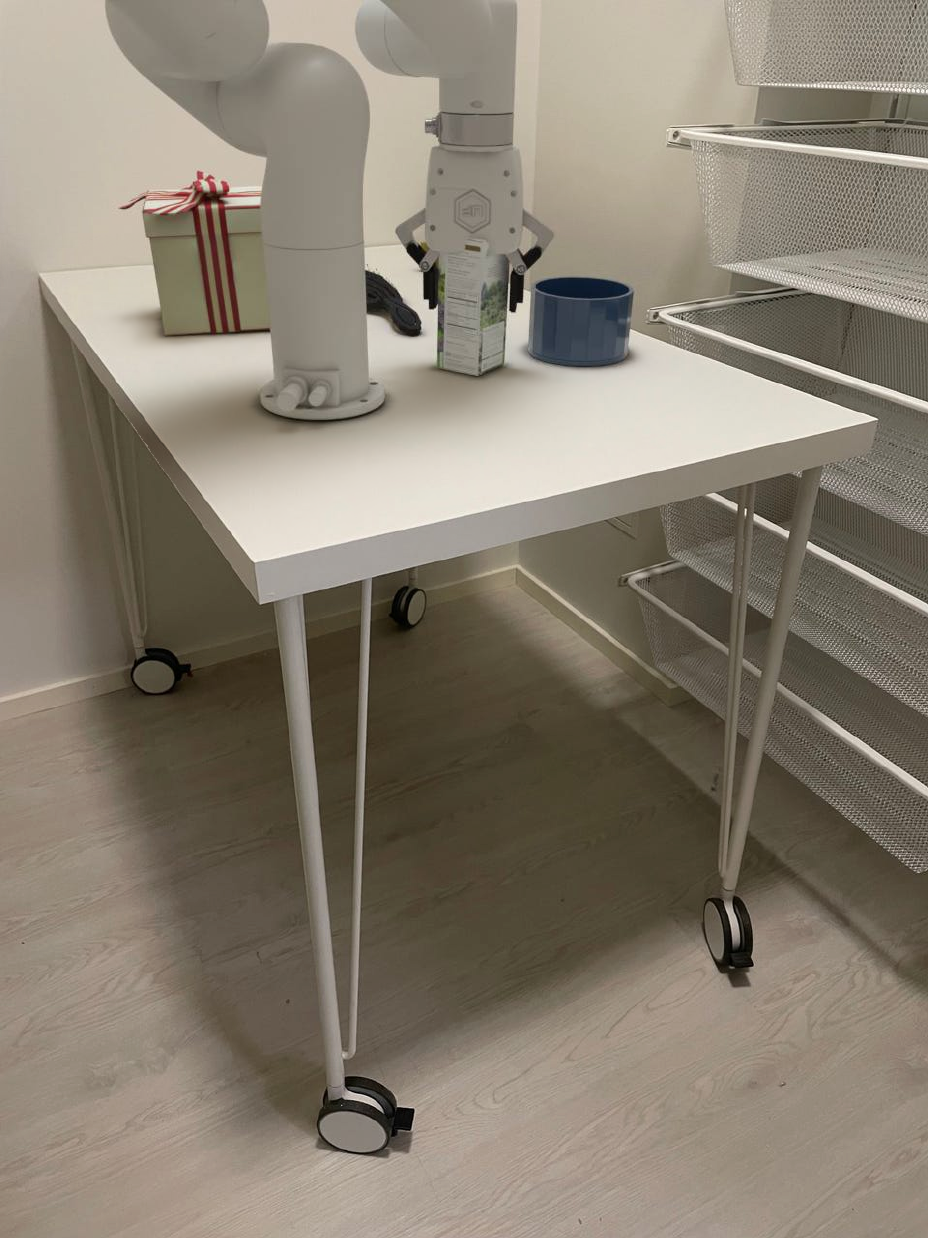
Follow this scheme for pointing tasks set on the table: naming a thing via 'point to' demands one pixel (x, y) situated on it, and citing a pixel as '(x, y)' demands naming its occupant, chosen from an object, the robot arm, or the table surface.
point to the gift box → (207, 256)
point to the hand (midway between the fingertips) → (473, 307)
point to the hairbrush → (390, 303)
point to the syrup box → (472, 309)
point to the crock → (580, 320)
